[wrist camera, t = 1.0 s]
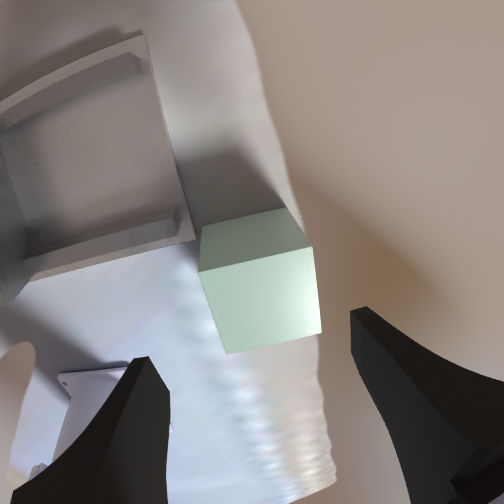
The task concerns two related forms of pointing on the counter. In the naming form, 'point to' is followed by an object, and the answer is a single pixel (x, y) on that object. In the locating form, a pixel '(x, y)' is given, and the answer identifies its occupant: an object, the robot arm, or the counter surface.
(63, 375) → the robot arm
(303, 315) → the pale mint cube
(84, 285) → the counter surface
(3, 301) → the motor mount
